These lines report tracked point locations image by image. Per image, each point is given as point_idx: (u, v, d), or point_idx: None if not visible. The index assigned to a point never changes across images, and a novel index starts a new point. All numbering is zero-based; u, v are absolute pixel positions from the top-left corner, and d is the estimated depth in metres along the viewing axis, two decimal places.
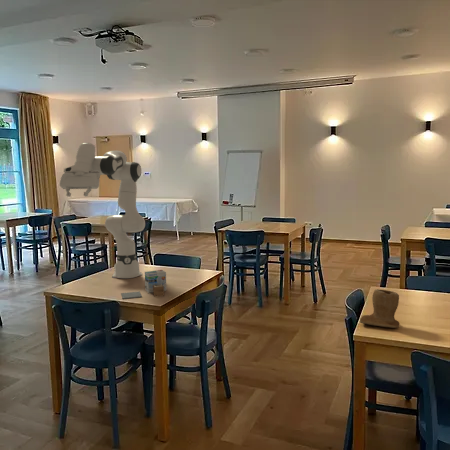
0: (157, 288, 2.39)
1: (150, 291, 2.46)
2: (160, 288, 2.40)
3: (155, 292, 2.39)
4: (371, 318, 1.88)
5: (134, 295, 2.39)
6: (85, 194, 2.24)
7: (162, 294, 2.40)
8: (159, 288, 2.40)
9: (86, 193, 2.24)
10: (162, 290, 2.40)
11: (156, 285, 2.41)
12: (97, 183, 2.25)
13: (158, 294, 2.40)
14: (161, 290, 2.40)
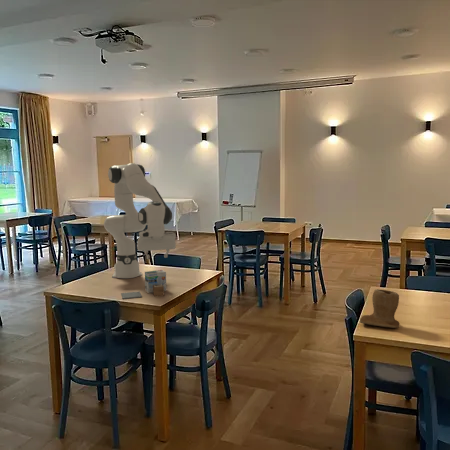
0: (157, 288, 2.39)
1: (150, 291, 2.46)
2: (160, 288, 2.40)
3: (155, 292, 2.39)
4: (371, 318, 1.89)
5: (134, 295, 2.39)
6: (166, 257, 2.40)
7: (162, 294, 2.40)
8: (159, 288, 2.40)
9: None
10: (162, 290, 2.40)
11: (156, 285, 2.41)
12: None
13: (158, 294, 2.40)
14: (161, 290, 2.40)
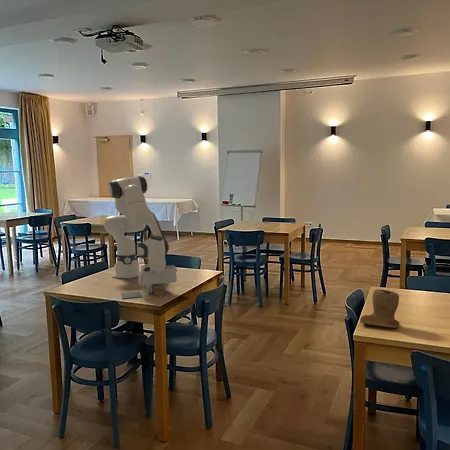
0: (157, 288, 2.39)
1: (150, 291, 2.46)
2: (160, 288, 2.40)
3: (155, 292, 2.39)
4: (371, 318, 1.88)
5: (134, 295, 2.39)
6: (165, 290, 2.42)
7: (162, 294, 2.40)
8: (159, 288, 2.40)
9: (165, 289, 2.42)
10: (162, 290, 2.40)
11: (156, 285, 2.41)
12: None
13: (158, 294, 2.40)
14: (161, 290, 2.40)
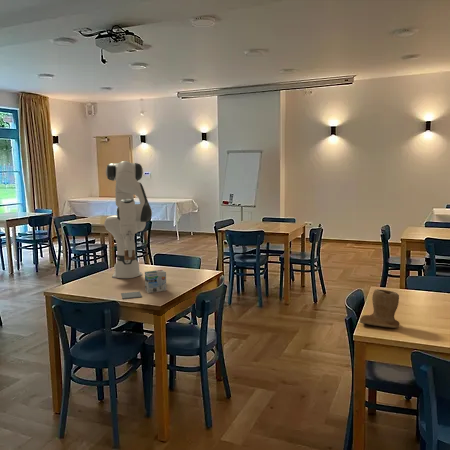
0: (124, 251, 2.38)
1: (150, 291, 2.46)
2: (124, 251, 2.37)
3: (124, 254, 2.39)
4: (371, 318, 1.88)
5: (134, 295, 2.39)
6: None
7: (125, 258, 2.36)
8: (124, 251, 2.37)
9: (128, 255, 2.34)
10: (124, 254, 2.36)
11: None
12: (130, 246, 2.28)
13: (124, 257, 2.38)
14: (124, 254, 2.36)
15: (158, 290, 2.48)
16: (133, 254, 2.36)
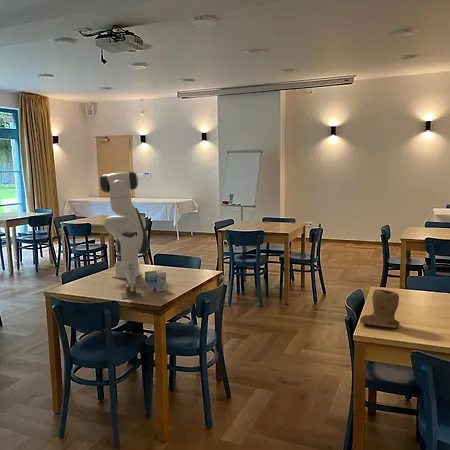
0: None
1: (150, 291, 2.46)
2: (126, 288, 2.39)
3: None
4: (371, 318, 1.88)
5: None
6: (130, 290, 2.36)
7: (126, 294, 2.39)
8: (126, 287, 2.40)
9: (130, 289, 2.35)
10: (126, 290, 2.38)
11: None
12: (131, 280, 2.30)
13: (126, 293, 2.41)
14: (126, 290, 2.39)
15: (158, 290, 2.48)
16: (135, 290, 2.39)
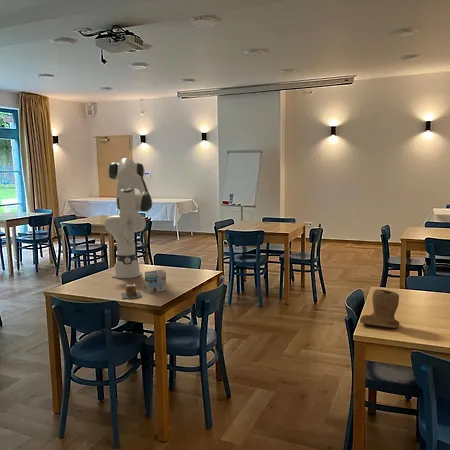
0: None
1: (150, 291, 2.46)
2: (126, 288, 2.39)
3: None
4: (371, 318, 1.88)
5: None
6: (128, 246, 2.34)
7: (126, 294, 2.39)
8: (126, 287, 2.40)
9: (128, 245, 2.33)
10: (126, 290, 2.38)
11: (130, 284, 2.41)
12: (130, 235, 2.28)
13: (126, 293, 2.41)
14: (126, 290, 2.39)
15: (158, 290, 2.48)
16: (135, 290, 2.39)
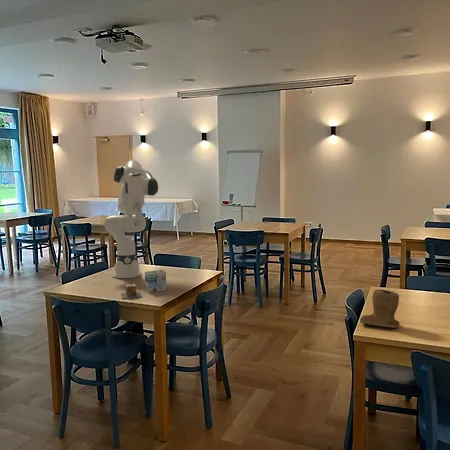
0: None
1: (150, 291, 2.46)
2: (126, 288, 2.39)
3: None
4: (371, 318, 1.89)
5: None
6: (136, 227, 2.46)
7: (126, 294, 2.39)
8: (126, 287, 2.40)
9: (136, 226, 2.45)
10: (126, 290, 2.38)
11: (130, 284, 2.41)
12: (138, 216, 2.40)
13: (126, 293, 2.41)
14: (126, 290, 2.39)
15: (158, 290, 2.48)
16: (135, 290, 2.39)
